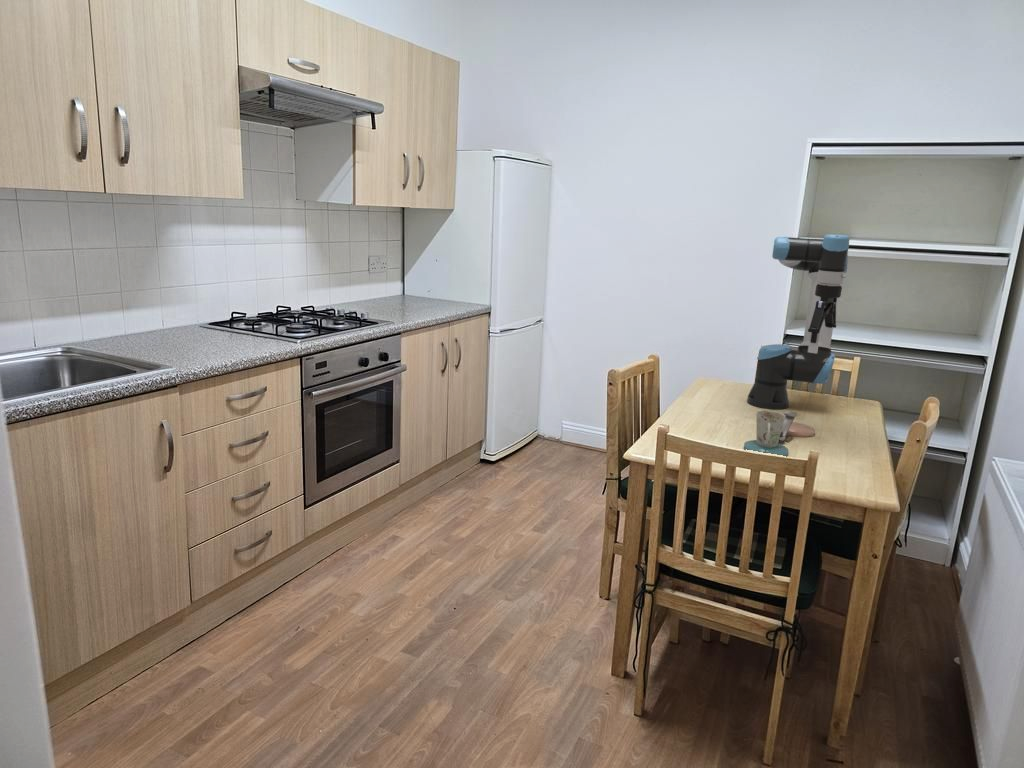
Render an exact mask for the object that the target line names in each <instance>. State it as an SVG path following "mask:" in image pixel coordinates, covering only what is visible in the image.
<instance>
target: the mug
mask: <svg viewBox="0 0 1024 768" xmlns="http://www.w3.org/2000/svg"><path fill="white" fill-rule="evenodd" d="M784 420H785V415H784V413H781V412H778V411H773V410H759V411H757V412H756V440H757V444H758V445H759V446H762V447H767V448H774V447H776V446H777V444H779V437H780V433H781V430H782V427H783V423H784Z"/></svg>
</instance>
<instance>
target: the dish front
mask: <svg viewBox="0 0 1024 768" xmlns="http://www.w3.org/2000/svg"><path fill="white" fill-rule="evenodd" d="M743 444H744V445H743V449H744V450H745V449H747V450H753V451H758V452H763V453H771V454H777V455H783V456H786V457H787V456H789V449H788V447H786V446H785V445H783V444H781V443H778V444H777V446H776V447H774V448H767V447H762V446H759V445H758V444H757V439H751V440H747V441H746V442H744V443H743Z"/></svg>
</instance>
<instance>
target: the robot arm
mask: <svg viewBox="0 0 1024 768" xmlns="http://www.w3.org/2000/svg"><path fill="white" fill-rule="evenodd" d="M772 247H773V248H772V255H771V257H772V259H774V260H778V262H779V263H780V264H781V265H783V266H784V267H787V268H789V269H792V270H793V269H794V270H797V271H803V272H804V271H805V272H806V271H807V272H808V275H807V276H808V278H809V279H810V280H811V283H810V290H809V291H810V292H809V299H808V303H807V304H808V306H807V312H806V313H807V314H806V320H805V321H806V322H805V326H804V333H803V334H804V335H803V341H802V342H801V343H800V344H798V346H797V349H793V347H792V345H789V344H782V343H781V344H780V343H778V344H777V343H776V344H766V345H763V346H761V347H760V348H759V350H758V354H757V355H758V356H757V358H756V359H757V362H756V370H755V376H754V382H753V385H752V386H751V389H750V390H749V393H748V395H747V398H746V399H747V400H746V401H747V403H748V404H750V405H751V406H754V407H758V408H762V409H770V410H783V409H787V408H788V407H789V403H790V401H789V400H790V399H789V395H788V390H787V383H788V381H793V382H801V383H810V384H813V385H814V384H819V385H820V384H826V383H827V382H828V381H829V378H830V376H831V372H832V370H833V366H834V362H835V358H836V355H835V354H834V353H832V348H831V343H832V336H833V331H834V329H835V328H837V324H836V323H837V301H838V299H839V298H841V296H842V290H843V287H842V284H843V283H844V279H845V278H846V275H845V274H846V273H847V270H848V260H849V259H848V258H849V257H848V256H849V253H848V252H849V249H850V236H849V235H846V234H835V233H834V234H829V233H828V234H825V235H824V236H823V238H805V237H804V238H803V237H792V236H791V237H790V236H789V237H788V236H777V237H775V239H774V242H773V246H772Z"/></svg>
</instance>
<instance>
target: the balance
mask: <svg viewBox="0 0 1024 768" xmlns="http://www.w3.org/2000/svg"><path fill="white" fill-rule="evenodd" d="M783 415H785V420H784V423H783V427H782V430H781V433H780V437H779V440H778V442H779V441H780V442H784V443H789V442H791V441H792V440H793V439H794V436H790V435H788V431H789V428H790V426H791V424H792V422H794V420H795V419H796V417H797V416H798V413H797V412H794V411H788V410H787V411H784V412H783Z"/></svg>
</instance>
